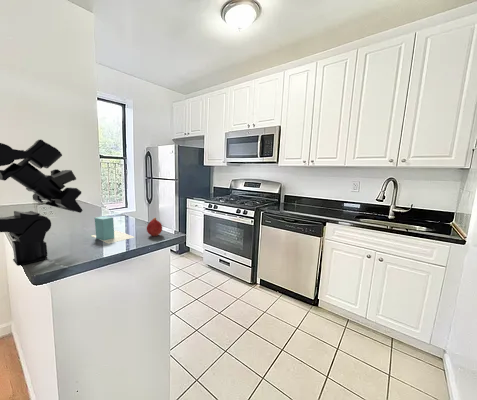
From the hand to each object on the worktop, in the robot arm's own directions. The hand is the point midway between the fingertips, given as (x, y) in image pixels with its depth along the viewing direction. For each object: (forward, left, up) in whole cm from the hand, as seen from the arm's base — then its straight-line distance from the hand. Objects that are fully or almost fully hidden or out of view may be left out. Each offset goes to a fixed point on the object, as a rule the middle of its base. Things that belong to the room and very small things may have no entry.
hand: (78, 211), depth 76 cm
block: (+9, +1, -12) cm, 15 cm away
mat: (+11, +1, -13) cm, 17 cm away
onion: (+22, -10, -13) cm, 28 cm away
